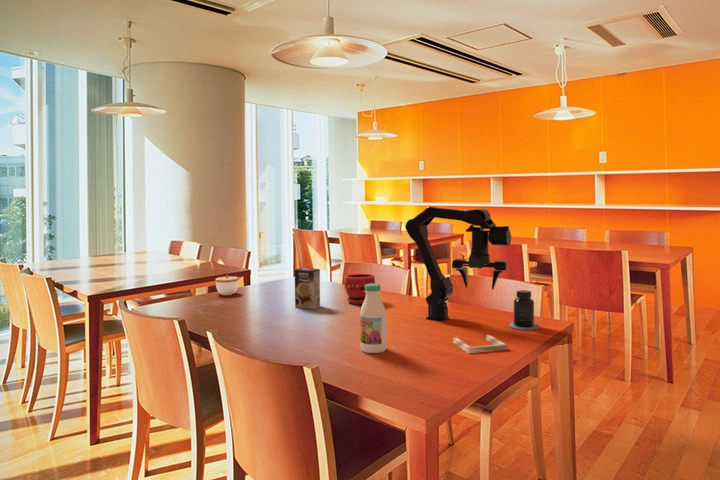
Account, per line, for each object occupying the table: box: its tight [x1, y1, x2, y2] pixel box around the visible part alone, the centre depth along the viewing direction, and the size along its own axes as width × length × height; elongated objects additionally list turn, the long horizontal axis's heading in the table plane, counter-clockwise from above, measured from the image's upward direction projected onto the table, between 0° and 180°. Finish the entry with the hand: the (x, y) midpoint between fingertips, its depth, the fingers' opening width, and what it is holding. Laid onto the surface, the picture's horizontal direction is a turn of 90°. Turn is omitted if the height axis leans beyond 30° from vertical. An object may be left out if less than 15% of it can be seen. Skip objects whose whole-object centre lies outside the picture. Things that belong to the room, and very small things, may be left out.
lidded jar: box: [215, 274, 239, 296], centre depth 236 cm, size 11×11×9 cm
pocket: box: [452, 334, 508, 354], centre depth 151 cm, size 11×12×2 cm
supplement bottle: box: [513, 289, 535, 327], centre depth 171 cm, size 7×7×12 cm
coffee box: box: [294, 267, 321, 310], centre depth 207 cm, size 9×6×16 cm
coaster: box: [508, 321, 540, 332], centre depth 171 cm, size 10×10×1 cm
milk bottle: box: [359, 283, 387, 354], centre depth 147 cm, size 8×8×20 cm
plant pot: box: [344, 273, 376, 305], centre depth 215 cm, size 13×13×12 cm
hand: (479, 288), depth 175 cm, fingers open, 9 cm apart
